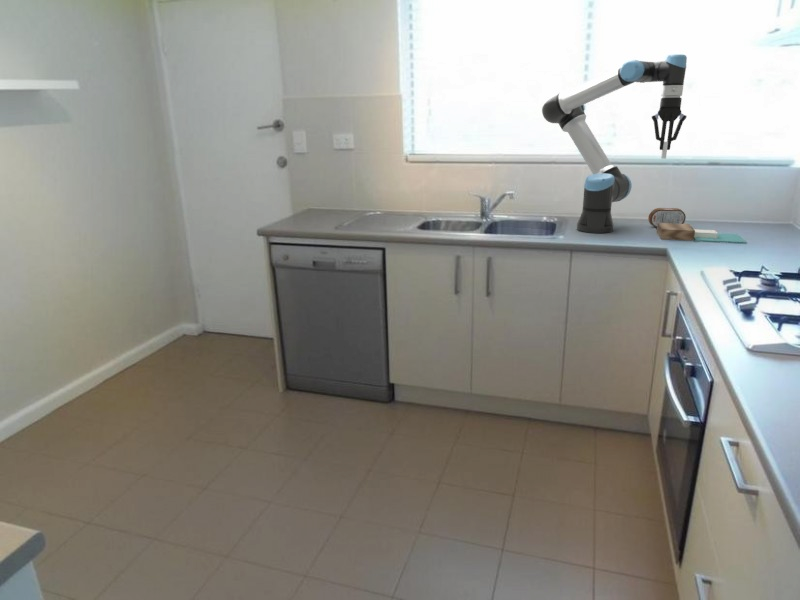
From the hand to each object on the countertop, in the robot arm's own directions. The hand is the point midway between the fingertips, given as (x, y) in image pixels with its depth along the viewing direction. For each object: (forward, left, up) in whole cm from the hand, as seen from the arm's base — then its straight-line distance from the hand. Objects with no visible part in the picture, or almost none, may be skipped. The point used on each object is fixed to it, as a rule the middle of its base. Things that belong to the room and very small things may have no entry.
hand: (663, 158), depth 234 cm
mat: (+22, -8, -30) cm, 39 cm away
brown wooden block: (+7, -8, -30) cm, 32 cm away
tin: (+6, +11, -31) cm, 33 cm away
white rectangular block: (+18, -8, -30) cm, 36 cm away
